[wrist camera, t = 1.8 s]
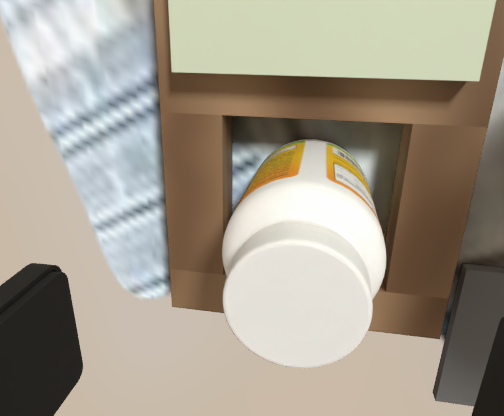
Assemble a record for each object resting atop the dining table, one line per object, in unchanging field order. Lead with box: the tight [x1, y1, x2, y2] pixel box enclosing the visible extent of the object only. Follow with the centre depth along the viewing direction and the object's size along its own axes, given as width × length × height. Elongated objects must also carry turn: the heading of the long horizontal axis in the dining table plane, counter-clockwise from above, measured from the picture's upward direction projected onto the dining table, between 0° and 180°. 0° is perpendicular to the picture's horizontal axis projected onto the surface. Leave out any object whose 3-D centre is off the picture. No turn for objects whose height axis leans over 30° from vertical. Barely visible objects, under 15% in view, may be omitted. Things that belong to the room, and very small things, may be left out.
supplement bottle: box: [222, 139, 386, 368], centre depth 15 cm, size 5×5×10 cm
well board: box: [154, 0, 504, 339], centre depth 16 cm, size 13×26×2 cm, turn 179°
